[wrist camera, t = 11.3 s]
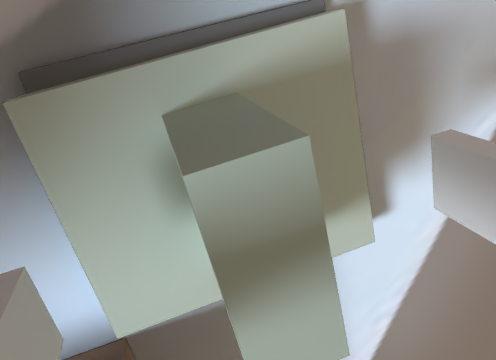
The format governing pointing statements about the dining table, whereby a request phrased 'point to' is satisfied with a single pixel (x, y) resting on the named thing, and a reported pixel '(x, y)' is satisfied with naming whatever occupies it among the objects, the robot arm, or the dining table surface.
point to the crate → (108, 352)
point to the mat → (161, 46)
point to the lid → (214, 183)
